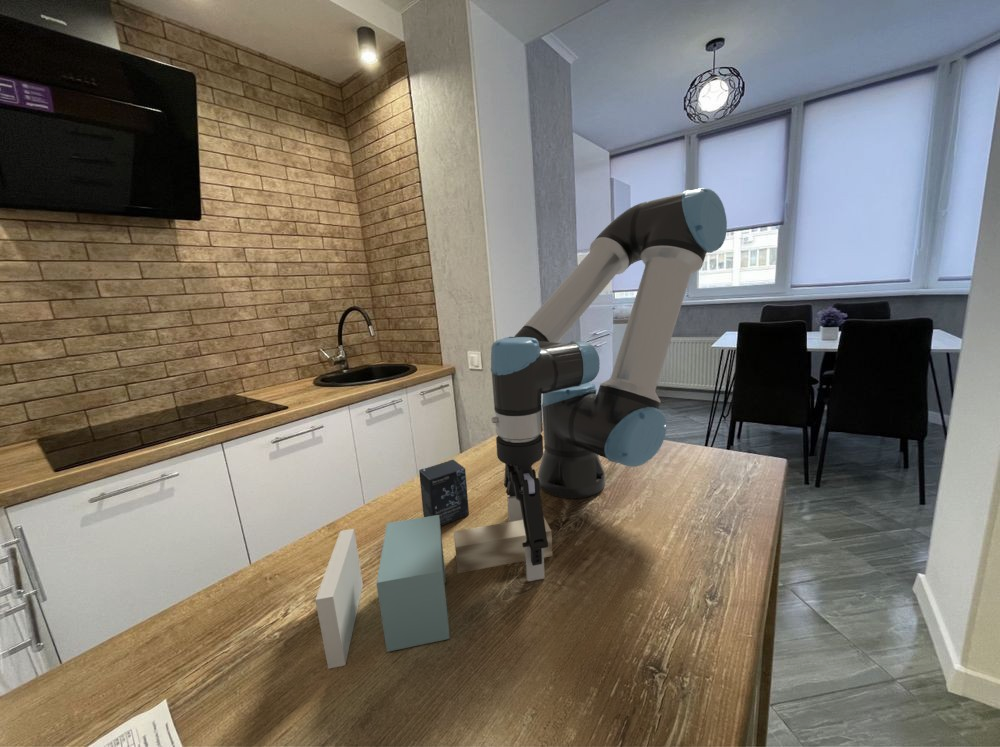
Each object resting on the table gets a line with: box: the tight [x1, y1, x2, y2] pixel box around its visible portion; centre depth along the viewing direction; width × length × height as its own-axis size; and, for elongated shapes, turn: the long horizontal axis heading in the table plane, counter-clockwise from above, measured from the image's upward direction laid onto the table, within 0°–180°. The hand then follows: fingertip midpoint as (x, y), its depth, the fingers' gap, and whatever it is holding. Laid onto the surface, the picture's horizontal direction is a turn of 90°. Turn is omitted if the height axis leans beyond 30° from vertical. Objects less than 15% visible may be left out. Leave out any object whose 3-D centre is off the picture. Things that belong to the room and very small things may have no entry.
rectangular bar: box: [453, 517, 553, 574], centre depth 66 cm, size 16×4×5 cm, turn 100°
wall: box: [314, 528, 364, 670], centre depth 54 cm, size 2×14×10 cm, turn 10°
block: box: [376, 515, 451, 653], centre depth 56 cm, size 8×13×10 cm, turn 10°
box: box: [418, 459, 470, 527], centre depth 79 cm, size 8×6×11 cm
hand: (525, 551), depth 67 cm, fingers open, 13 cm apart
